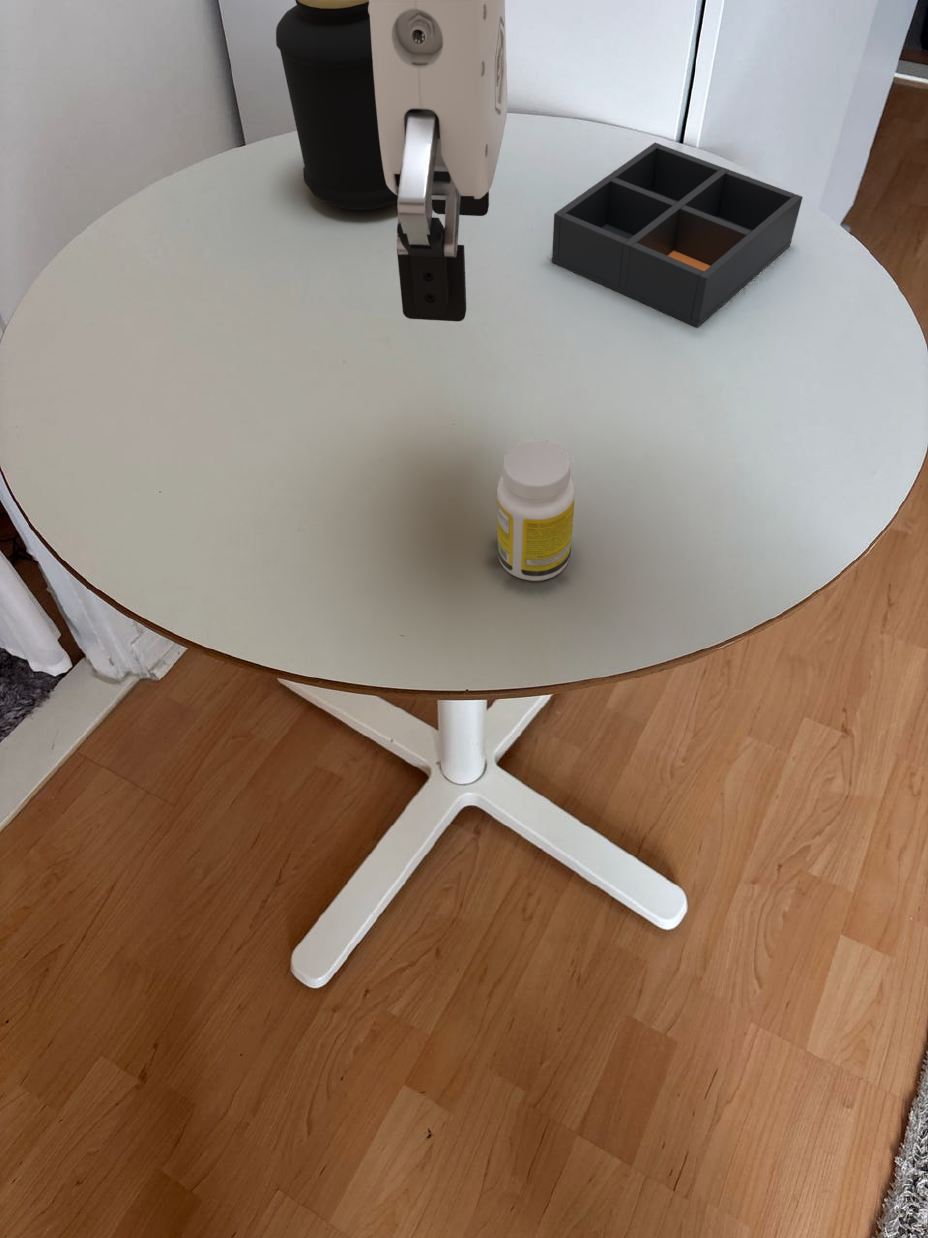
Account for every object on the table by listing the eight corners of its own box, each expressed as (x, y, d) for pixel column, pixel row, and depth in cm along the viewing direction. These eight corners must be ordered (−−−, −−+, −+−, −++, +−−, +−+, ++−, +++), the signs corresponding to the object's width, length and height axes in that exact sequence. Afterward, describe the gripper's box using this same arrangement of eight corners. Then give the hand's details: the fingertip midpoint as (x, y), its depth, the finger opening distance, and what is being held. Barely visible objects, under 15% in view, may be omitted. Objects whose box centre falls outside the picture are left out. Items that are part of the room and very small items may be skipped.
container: (280, 181, 94) (240, -32, 80) (388, 143, 98) (368, -67, 83) (341, 239, 88) (310, 19, 73) (454, 196, 92) (445, -21, 77)
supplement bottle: (582, 545, 65) (592, 451, 58) (548, 593, 63) (553, 501, 56) (520, 518, 67) (522, 424, 60) (483, 564, 64) (481, 471, 58)
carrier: (790, 245, 85) (803, 196, 82) (697, 327, 79) (706, 278, 75) (648, 189, 91) (654, 141, 88) (551, 262, 85) (553, 213, 81)
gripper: (498, -31, 34) (499, 368, 48) (541, -184, 44) (532, 180, 58) (288, -34, 35) (348, 359, 49) (378, -184, 45) (407, 175, 59)
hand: (448, 261), depth 53 cm, fingers open, 9 cm apart
